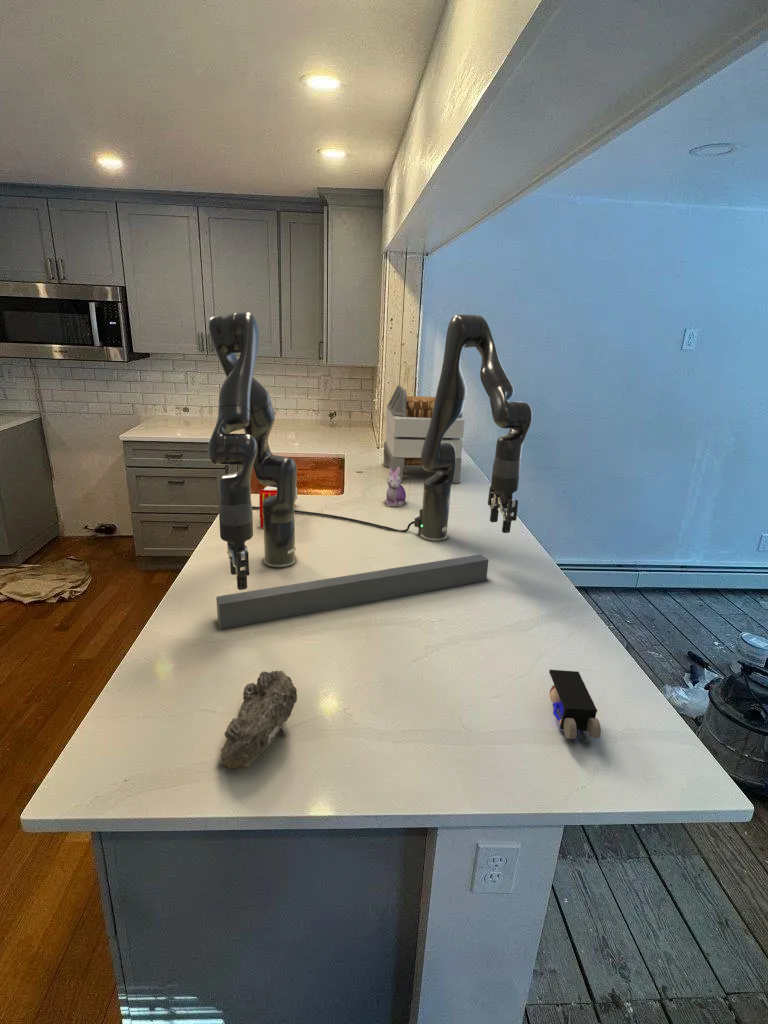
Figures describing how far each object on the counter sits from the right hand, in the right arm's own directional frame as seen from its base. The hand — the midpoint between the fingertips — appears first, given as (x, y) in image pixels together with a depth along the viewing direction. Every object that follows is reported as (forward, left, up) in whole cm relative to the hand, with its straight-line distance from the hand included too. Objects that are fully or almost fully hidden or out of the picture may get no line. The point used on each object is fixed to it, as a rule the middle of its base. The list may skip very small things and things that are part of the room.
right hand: (499, 527), depth 165 cm
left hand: (-39, -64, -5) cm, 75 cm away
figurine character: (+39, -50, -16) cm, 65 cm away
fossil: (-6, -88, -16) cm, 89 cm away
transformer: (-78, +82, -16) cm, 114 cm away
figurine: (-61, +36, -16) cm, 73 cm away
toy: (-86, -5, -16) cm, 87 cm away
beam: (-22, -35, -16) cm, 45 cm away
